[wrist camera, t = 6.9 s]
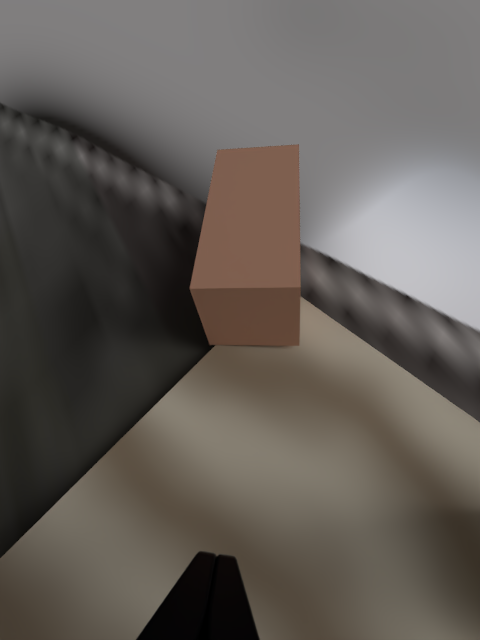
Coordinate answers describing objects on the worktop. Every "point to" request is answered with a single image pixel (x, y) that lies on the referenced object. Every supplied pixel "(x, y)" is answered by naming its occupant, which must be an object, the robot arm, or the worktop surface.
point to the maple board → (271, 503)
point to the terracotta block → (251, 249)
